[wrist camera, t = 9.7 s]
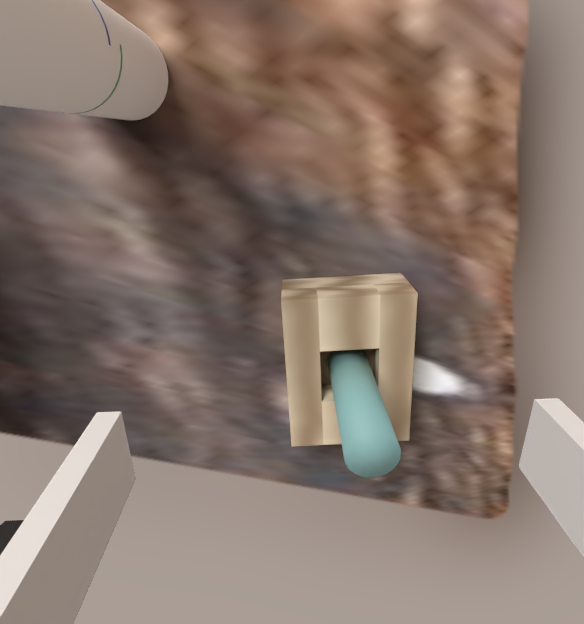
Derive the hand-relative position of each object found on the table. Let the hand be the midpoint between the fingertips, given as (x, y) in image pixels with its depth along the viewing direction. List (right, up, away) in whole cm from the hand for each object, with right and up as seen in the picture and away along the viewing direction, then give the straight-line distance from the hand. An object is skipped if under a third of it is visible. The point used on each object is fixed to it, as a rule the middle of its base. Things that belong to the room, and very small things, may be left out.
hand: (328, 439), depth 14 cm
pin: (+4, -1, +29) cm, 29 cm away
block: (+4, 0, +32) cm, 32 cm away
